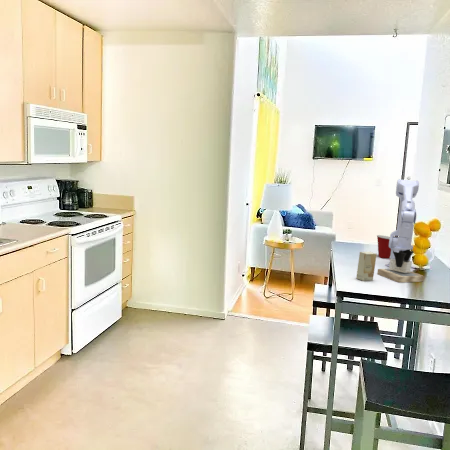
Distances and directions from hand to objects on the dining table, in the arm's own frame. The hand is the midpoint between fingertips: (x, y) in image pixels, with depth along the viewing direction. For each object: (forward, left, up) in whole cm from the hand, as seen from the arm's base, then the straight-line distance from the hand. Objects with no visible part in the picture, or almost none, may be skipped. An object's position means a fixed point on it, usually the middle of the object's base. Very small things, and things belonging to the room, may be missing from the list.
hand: (401, 266), depth 205 cm
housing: (0, 0, -2) cm, 2 cm away
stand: (0, 0, -5) cm, 5 cm away
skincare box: (+20, 0, -6) cm, 21 cm away
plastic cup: (-24, -37, -6) cm, 44 cm away
